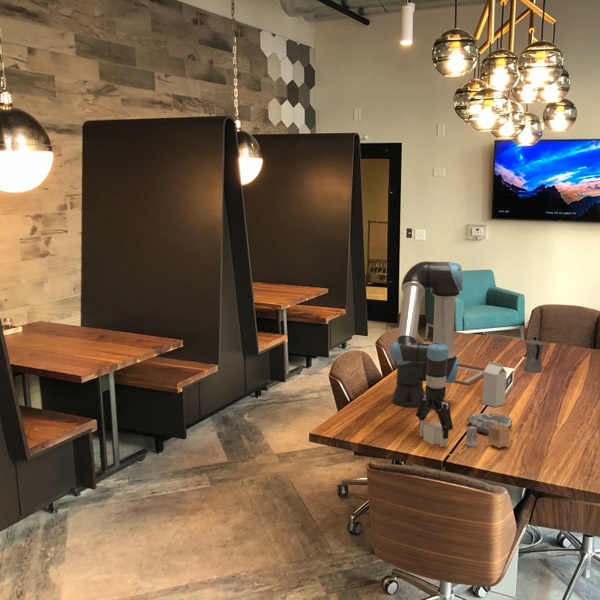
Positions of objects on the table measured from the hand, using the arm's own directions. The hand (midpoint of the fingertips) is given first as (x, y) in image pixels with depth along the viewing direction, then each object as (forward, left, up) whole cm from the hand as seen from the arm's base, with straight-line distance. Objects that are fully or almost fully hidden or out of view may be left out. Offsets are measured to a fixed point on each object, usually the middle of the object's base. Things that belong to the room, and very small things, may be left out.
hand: (432, 441), depth 255 cm
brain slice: (0, +30, -1) cm, 30 cm away
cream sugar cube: (0, 0, 0) cm, 0 cm away
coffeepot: (-46, +112, 0) cm, 121 cm away
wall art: (-67, +71, -1) cm, 98 cm away
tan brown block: (+16, +18, 0) cm, 24 cm away
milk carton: (-19, +53, 0) cm, 56 cm away
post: (+10, +10, 0) cm, 14 cm away
